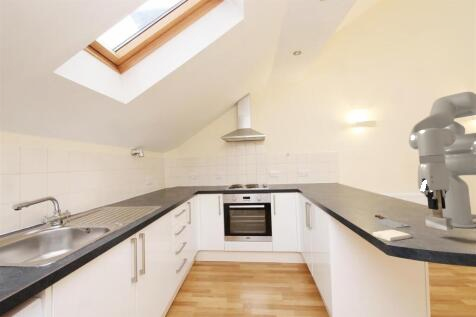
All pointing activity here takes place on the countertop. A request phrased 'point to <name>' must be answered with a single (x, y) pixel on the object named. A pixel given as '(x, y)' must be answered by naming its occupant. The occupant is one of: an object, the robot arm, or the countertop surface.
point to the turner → (439, 217)
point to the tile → (391, 235)
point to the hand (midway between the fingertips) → (436, 208)
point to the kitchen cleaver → (390, 222)
